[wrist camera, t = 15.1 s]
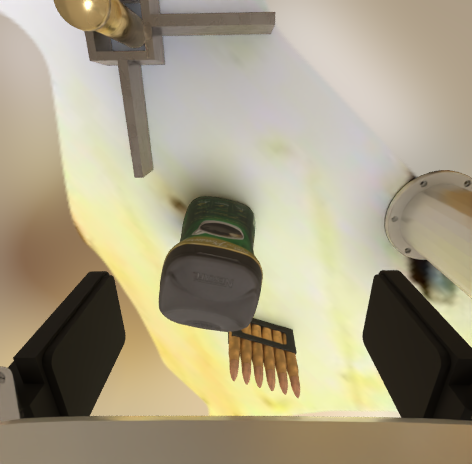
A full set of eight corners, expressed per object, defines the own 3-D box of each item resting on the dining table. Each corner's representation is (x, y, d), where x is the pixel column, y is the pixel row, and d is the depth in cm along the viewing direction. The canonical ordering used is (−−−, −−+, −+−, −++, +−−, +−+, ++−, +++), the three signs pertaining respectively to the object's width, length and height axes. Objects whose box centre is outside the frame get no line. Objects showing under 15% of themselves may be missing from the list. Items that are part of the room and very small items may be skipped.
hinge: (271, -9, 32) (276, -25, 28) (266, 168, 39) (269, 176, 35) (96, -6, 32) (75, -21, 28) (124, 169, 40) (110, 177, 35)
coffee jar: (182, 241, 44) (144, 331, 27) (190, 189, 40) (154, 253, 23) (247, 254, 44) (251, 351, 27) (260, 204, 41) (274, 277, 24)
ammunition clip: (227, 320, 49) (224, 383, 38) (231, 311, 48) (229, 373, 37) (288, 338, 50) (301, 404, 39) (292, 329, 50) (307, 394, 39)
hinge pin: (148, 9, 33) (101, -38, 22) (152, 52, 34) (111, 28, 23) (111, 9, 33) (45, -37, 22) (117, 52, 34) (59, 29, 23)
